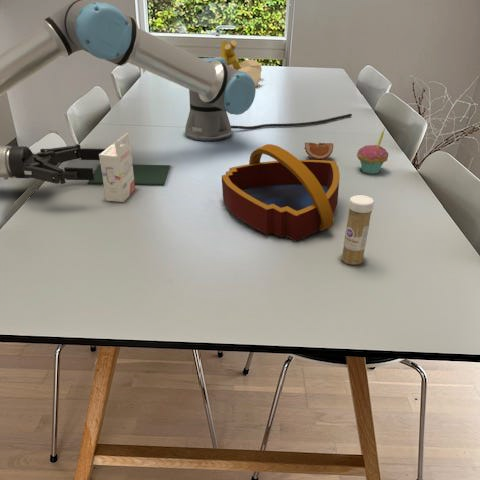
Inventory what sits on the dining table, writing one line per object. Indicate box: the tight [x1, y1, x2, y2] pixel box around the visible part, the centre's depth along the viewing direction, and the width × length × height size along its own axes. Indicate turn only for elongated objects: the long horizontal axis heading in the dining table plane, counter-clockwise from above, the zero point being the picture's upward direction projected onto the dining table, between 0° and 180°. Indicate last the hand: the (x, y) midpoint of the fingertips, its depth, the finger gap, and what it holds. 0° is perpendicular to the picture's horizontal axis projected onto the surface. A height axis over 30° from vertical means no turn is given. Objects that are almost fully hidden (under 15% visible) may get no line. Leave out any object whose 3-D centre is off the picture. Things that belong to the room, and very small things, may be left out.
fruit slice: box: [304, 142, 334, 161], centre depth 159 cm, size 8×7×5 cm
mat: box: [87, 163, 171, 186], centre depth 147 cm, size 20×14×1 cm
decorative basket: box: [221, 143, 340, 242], centre depth 127 cm, size 34×29×15 cm
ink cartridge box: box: [99, 132, 136, 203], centre depth 132 cm, size 9×5×15 cm, turn 168°
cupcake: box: [356, 128, 389, 175], centre depth 149 cm, size 9×8×12 cm
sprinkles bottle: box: [341, 194, 375, 266], centre depth 107 cm, size 5×5×13 cm
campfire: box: [199, 39, 263, 88], centre depth 236 cm, size 35×34×17 cm
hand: (100, 163), depth 131 cm, fingers open, 13 cm apart
